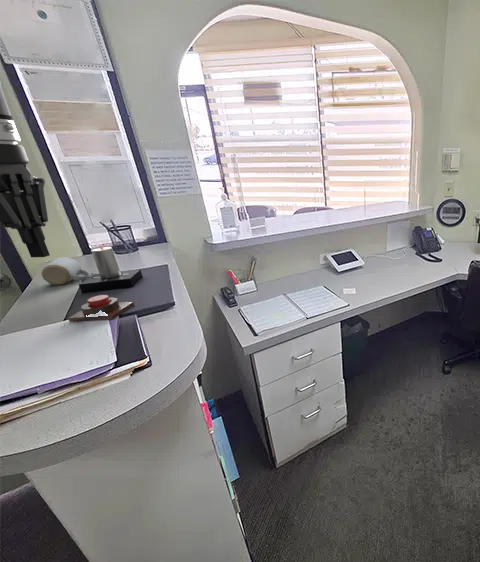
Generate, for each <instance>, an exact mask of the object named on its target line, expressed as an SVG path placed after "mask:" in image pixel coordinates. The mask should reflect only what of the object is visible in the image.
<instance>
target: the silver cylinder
mask: <svg viewBox="0 0 480 562" xmlns="http://www.w3.org/2000/svg"><path fill="white" fill-rule="evenodd" d="M90 252H91V254H92V257H93V260H94V262H95V266H96V268H97V270H98V274H100V276H101V278H102V279H109V278H114V277H117V276H120V275H121V273H120V271H121V270H120V267H119V264H118V261H117V258H116V255H115V253H114V248H113V247H112V246H107V245H102V246H101V247H96V248H93V249H91V250H90Z"/></svg>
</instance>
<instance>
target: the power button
mask: <svg viewBox="0 0 480 562" xmlns="http://www.w3.org/2000/svg"><path fill="white" fill-rule="evenodd" d="M86 301H87V303H88V304H89V306H90V307H97V306H102V305H105V304H108V303H109V302H110V300H109V295H108V294H99V295H95V296H92V297H89V298H88V299H87V300H86Z"/></svg>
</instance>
